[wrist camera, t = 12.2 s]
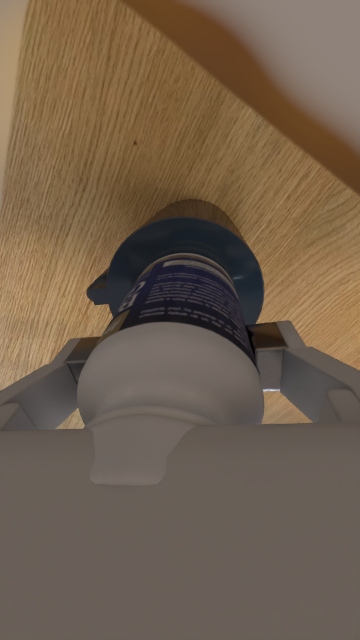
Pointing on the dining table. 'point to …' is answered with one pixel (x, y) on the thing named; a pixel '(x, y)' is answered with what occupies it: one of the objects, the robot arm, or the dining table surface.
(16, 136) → the dining table surface
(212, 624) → the robot arm
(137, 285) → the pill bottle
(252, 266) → the mug
